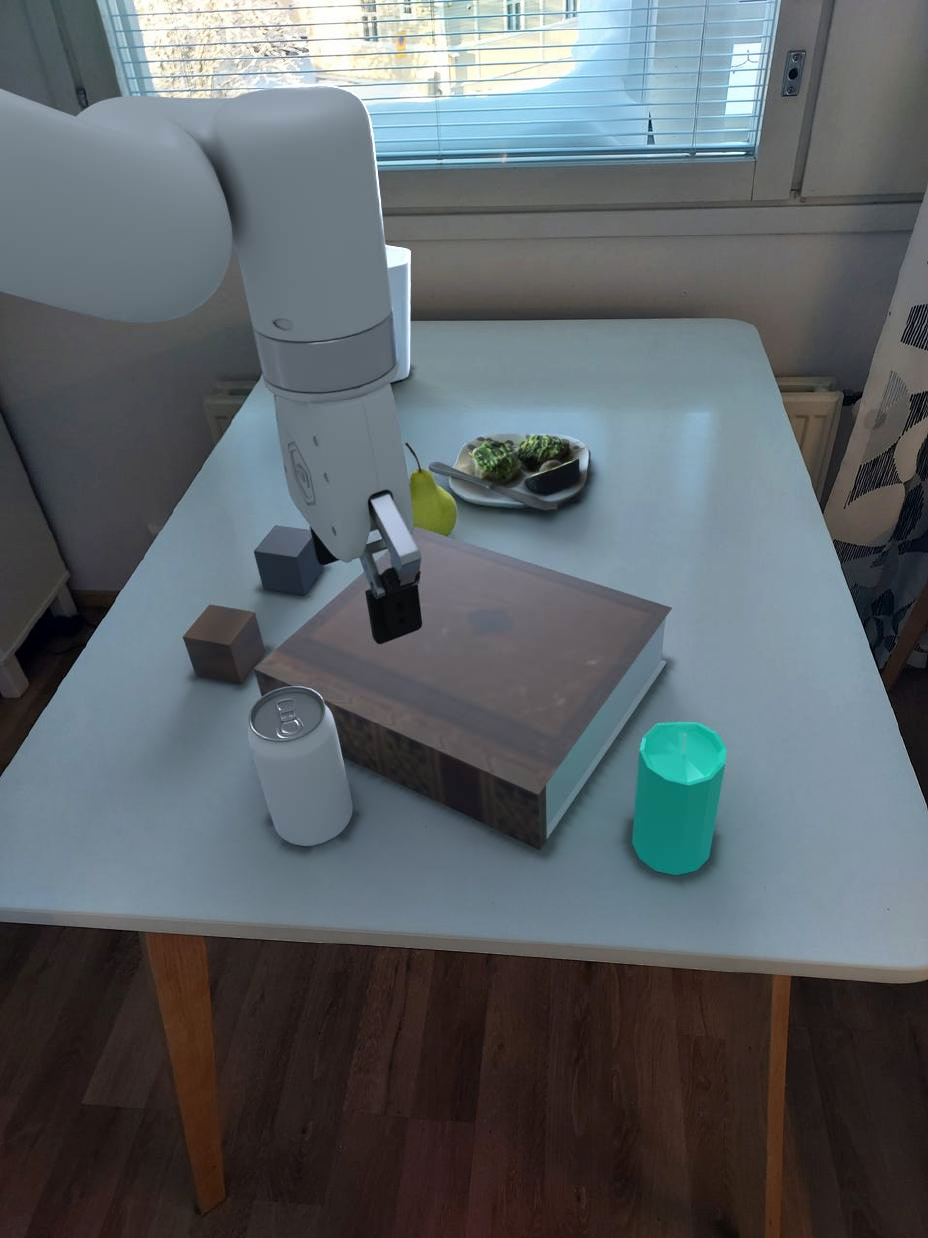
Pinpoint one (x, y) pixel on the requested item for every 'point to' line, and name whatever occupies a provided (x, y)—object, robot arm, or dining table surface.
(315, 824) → the can
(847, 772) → the dining table surface
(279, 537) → the block far
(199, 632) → the block near
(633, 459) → the dining table surface
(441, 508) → the fruit
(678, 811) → the candle
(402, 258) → the cup
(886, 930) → the dining table surface
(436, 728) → the book
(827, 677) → the dining table surface
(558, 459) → the salad plate
